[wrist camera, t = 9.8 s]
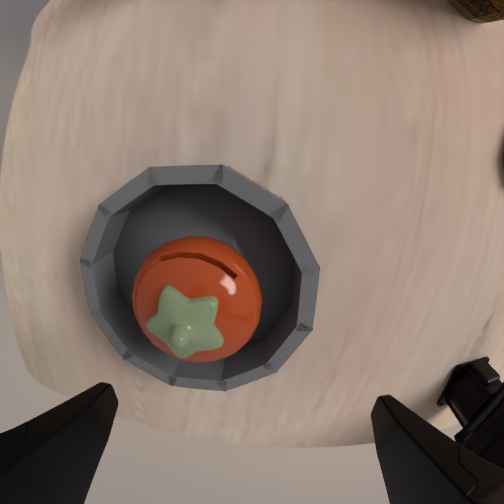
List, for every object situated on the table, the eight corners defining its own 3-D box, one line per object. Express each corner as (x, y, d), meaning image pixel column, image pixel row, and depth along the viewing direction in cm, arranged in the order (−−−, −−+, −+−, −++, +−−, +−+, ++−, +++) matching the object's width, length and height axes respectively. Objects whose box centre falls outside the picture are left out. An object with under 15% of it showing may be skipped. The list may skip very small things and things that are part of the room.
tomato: (273, 238, 18) (285, 286, 10) (248, 333, 20) (243, 414, 12) (163, 213, 18) (101, 242, 10) (152, 310, 20) (105, 377, 12)
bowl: (296, 360, 22) (302, 392, 18) (125, 347, 22) (107, 374, 18) (312, 169, 18) (327, 168, 14) (103, 172, 18) (72, 174, 14)
